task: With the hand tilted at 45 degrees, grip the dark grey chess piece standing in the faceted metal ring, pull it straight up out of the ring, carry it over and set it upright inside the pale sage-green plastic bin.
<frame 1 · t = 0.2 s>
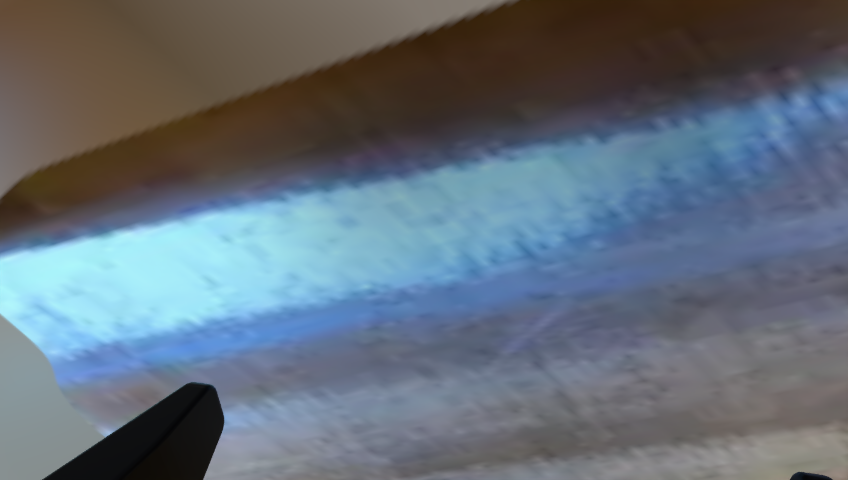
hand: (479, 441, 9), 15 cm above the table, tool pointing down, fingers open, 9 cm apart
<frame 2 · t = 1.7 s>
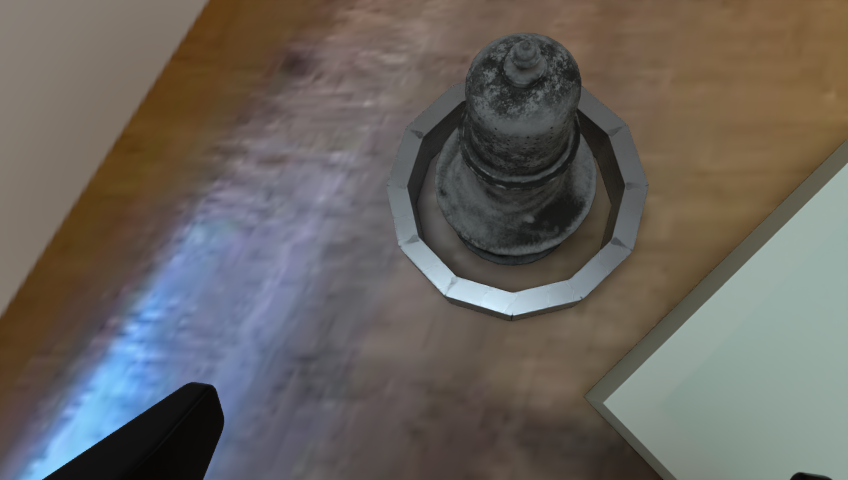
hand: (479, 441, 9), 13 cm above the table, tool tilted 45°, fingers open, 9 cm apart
faceted metal ring: (511, 204, 23), on the table
dark grey chess piece: (511, 206, 23), resting in faceted metal ring
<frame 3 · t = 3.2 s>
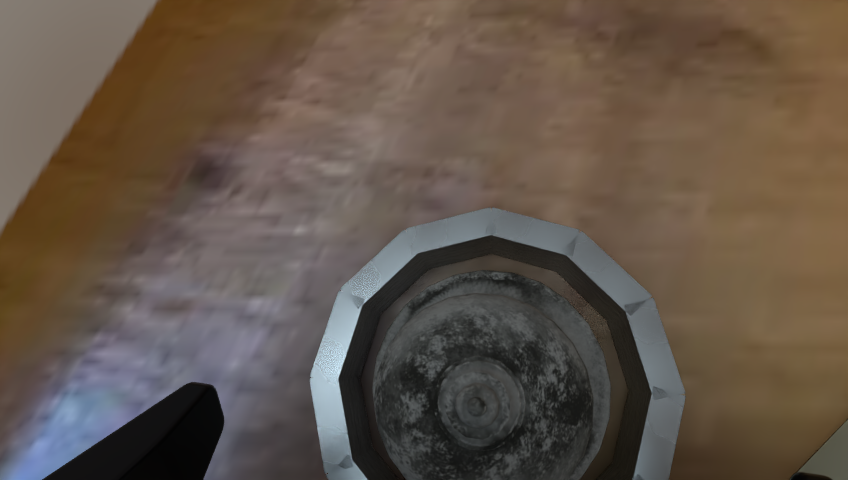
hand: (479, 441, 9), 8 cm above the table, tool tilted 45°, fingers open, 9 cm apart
faceted metal ring: (489, 383, 17), on the table
dark grey chess piece: (490, 383, 17), resting in faceted metal ring
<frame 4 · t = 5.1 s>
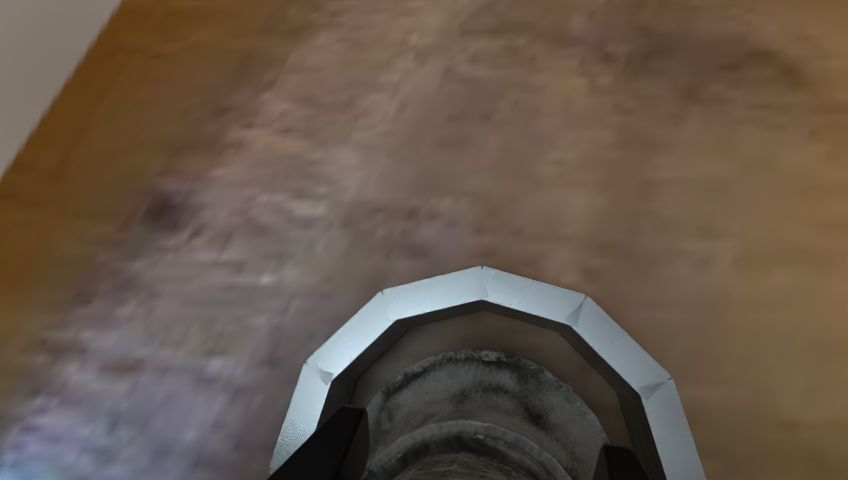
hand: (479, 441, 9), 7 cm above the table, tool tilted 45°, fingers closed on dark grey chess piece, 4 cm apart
faceted metal ring: (481, 463, 15), on the table
dark grey chess piece: (481, 462, 15), resting in faceted metal ring, touching gripper
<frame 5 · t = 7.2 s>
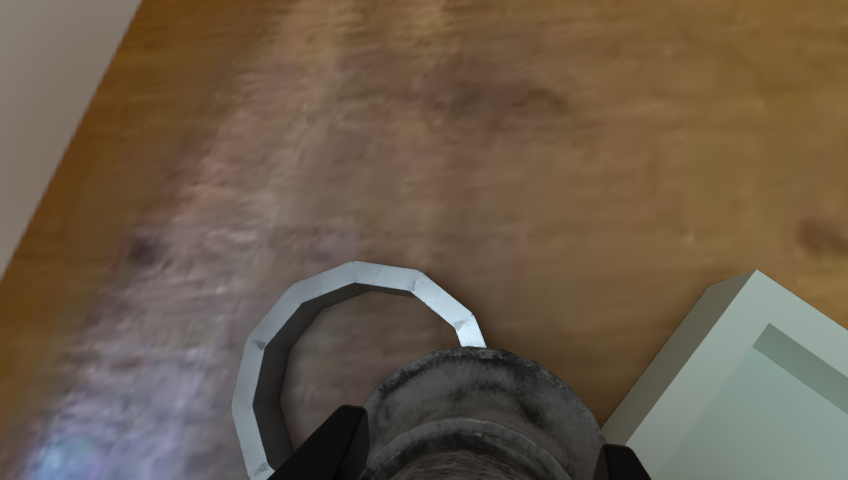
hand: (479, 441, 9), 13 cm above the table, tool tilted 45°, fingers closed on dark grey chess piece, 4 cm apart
faceted metal ring: (376, 391, 22), on the table
dark grey chess piece: (477, 459, 15), point 6 cm above the table, touching gripper
when the fingers open (9 cm above the table, at t = 9.8 s): dark grey chess piece drops 1 cm, resting on bin.
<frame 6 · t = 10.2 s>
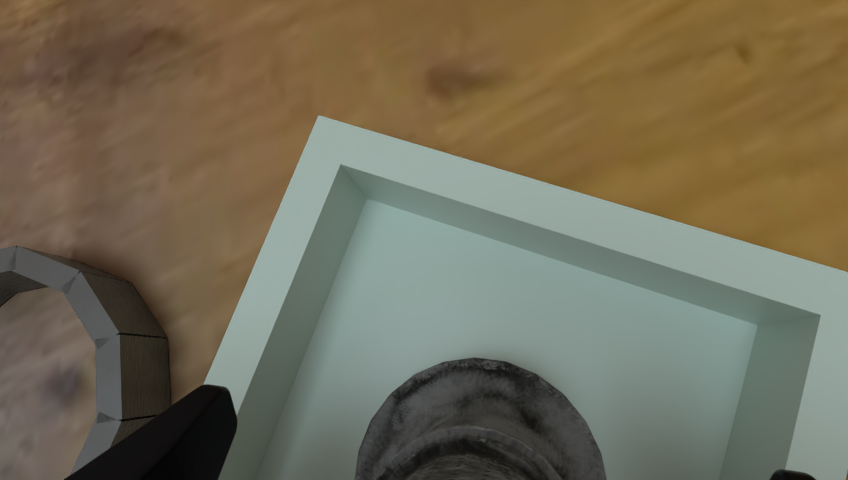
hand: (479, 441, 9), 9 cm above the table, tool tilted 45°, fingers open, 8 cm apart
bin: (483, 450, 17), on the table
faceted metal ring: (41, 398, 19), on the table
dark grey chess piece: (481, 459, 16), point 1 cm above the table, touching bin
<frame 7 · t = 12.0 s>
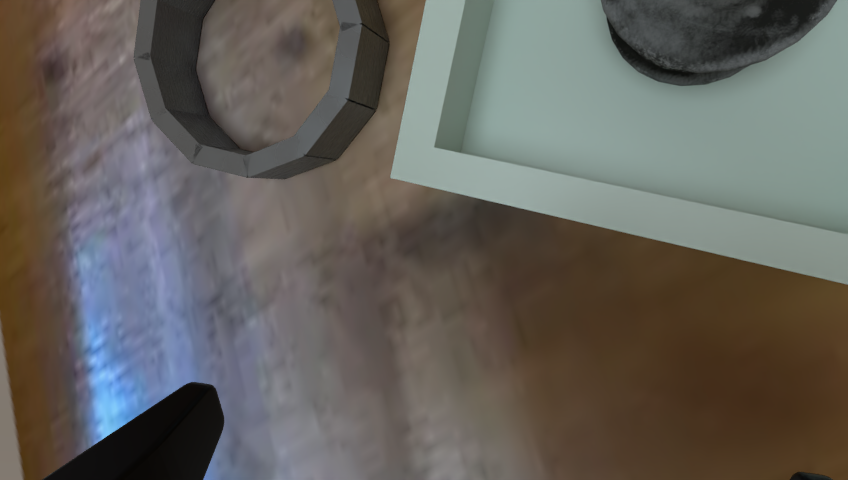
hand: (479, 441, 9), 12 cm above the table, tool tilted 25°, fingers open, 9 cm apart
bin: (693, 2, 17), on the table
faceted metal ring: (277, 58, 22), on the table
dark grey chess piece: (695, 1, 17), point 1 cm above the table, touching bin
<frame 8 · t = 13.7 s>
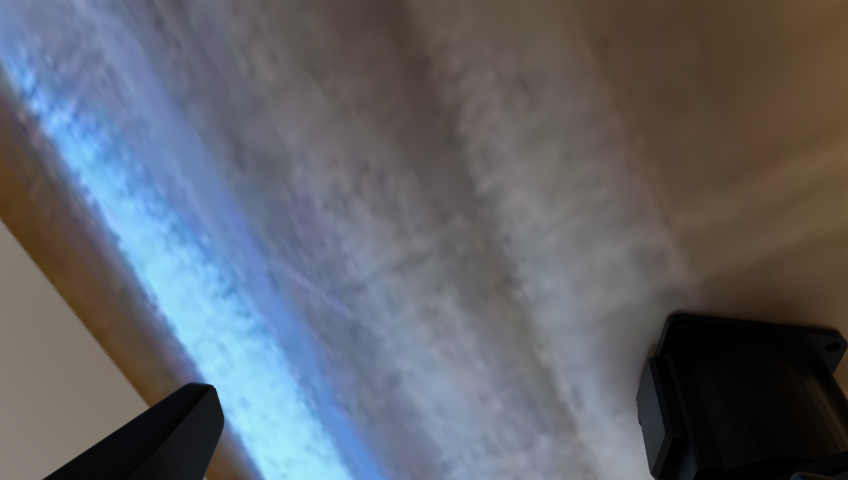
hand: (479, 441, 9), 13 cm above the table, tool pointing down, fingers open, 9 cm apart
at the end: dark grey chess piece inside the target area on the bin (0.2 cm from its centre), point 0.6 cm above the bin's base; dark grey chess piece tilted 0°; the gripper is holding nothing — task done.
